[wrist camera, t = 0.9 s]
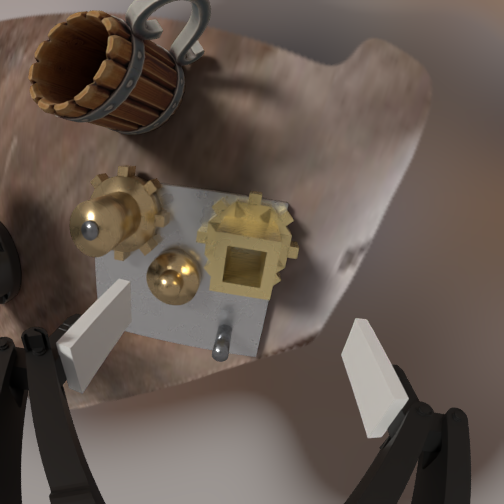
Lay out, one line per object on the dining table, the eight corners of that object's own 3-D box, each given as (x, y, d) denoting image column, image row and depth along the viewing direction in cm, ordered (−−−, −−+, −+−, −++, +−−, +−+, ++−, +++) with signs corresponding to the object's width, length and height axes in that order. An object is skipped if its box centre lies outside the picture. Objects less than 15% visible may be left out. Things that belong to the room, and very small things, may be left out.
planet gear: (195, 275, 33) (178, 310, 25) (206, 183, 29) (188, 194, 22) (285, 290, 33) (292, 329, 26) (305, 200, 30) (321, 216, 22)
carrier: (99, 318, 37) (67, 357, 28) (98, 162, 30) (48, 169, 21) (256, 351, 38) (254, 403, 28) (290, 186, 30) (303, 200, 21)
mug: (126, 153, 30) (41, 160, 15) (91, 86, 27) (7, 64, 13) (246, 78, 27) (233, 18, 13) (201, 13, 24) (165, -61, 10)
